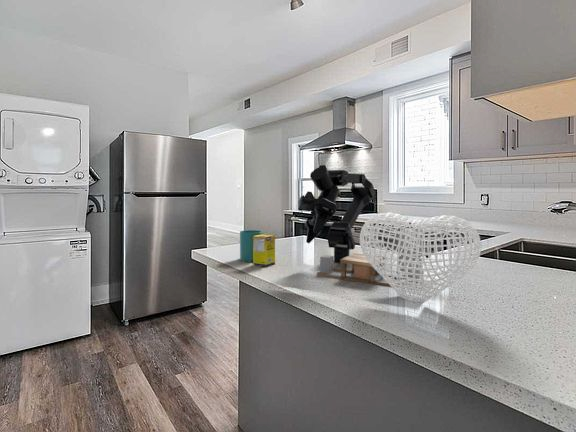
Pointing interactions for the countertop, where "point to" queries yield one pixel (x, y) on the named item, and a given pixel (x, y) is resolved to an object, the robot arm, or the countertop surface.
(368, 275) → the block
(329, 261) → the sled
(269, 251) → the supplement box
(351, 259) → the tunnel channel
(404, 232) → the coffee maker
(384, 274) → the heart
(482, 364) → the countertop surface
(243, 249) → the cup
